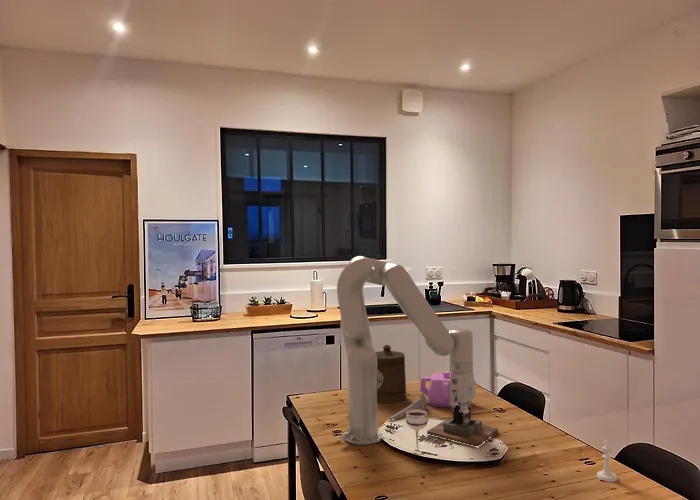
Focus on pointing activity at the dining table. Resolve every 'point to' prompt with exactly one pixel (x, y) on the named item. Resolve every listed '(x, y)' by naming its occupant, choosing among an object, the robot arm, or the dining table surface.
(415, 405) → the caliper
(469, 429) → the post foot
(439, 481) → the dining table surface
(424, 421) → the wineglass
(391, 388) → the wooden container
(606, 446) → the chess piece
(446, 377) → the teakettle
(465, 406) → the pill bottle
